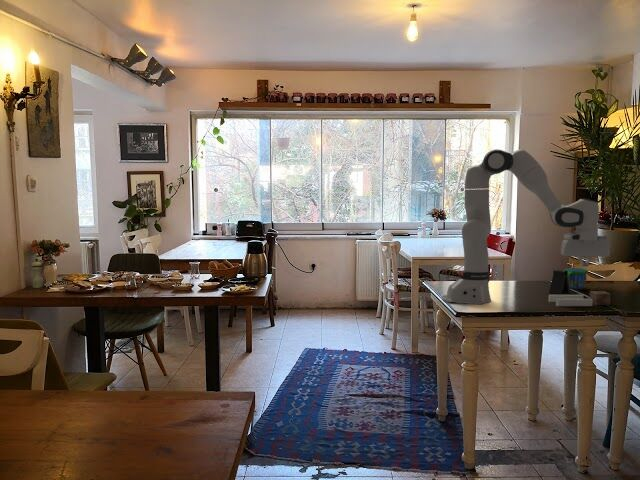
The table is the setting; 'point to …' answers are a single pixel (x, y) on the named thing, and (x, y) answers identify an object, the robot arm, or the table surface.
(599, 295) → the walnut block
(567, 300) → the chute
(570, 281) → the snack cup
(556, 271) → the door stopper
